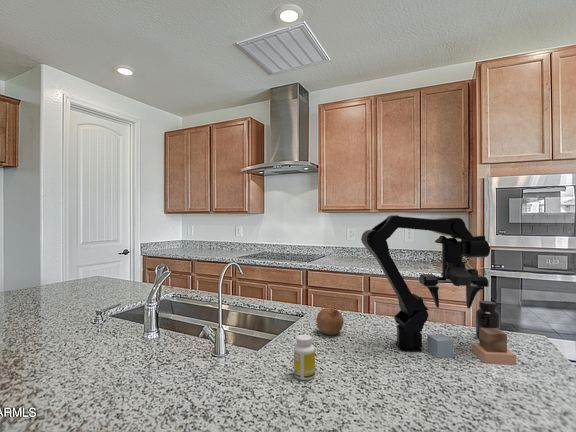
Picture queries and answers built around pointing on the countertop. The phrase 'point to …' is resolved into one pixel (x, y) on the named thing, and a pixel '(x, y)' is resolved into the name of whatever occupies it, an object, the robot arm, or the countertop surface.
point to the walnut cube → (493, 339)
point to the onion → (329, 321)
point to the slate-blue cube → (440, 345)
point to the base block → (494, 355)
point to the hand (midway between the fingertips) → (452, 307)
